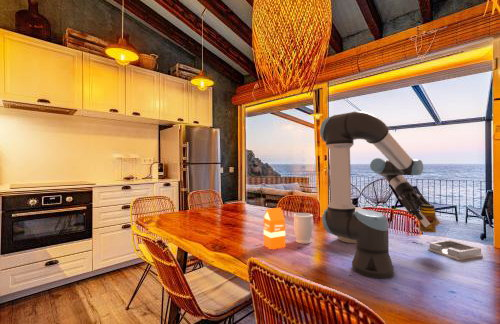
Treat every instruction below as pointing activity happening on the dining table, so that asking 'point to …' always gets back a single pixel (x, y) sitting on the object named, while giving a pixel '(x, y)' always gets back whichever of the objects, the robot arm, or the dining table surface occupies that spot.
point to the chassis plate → (455, 250)
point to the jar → (303, 227)
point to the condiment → (430, 216)
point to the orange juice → (274, 228)
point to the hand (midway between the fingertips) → (433, 224)
